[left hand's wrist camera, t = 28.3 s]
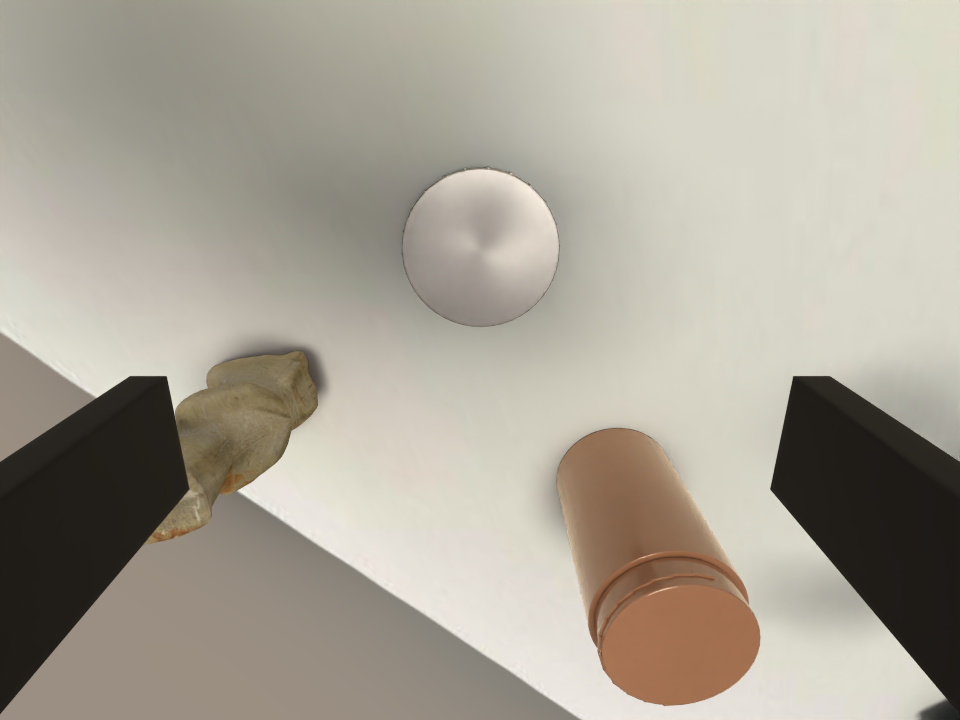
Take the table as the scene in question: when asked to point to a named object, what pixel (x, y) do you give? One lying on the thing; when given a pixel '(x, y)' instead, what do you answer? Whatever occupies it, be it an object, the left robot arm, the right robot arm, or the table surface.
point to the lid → (480, 247)
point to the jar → (652, 573)
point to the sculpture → (236, 431)
